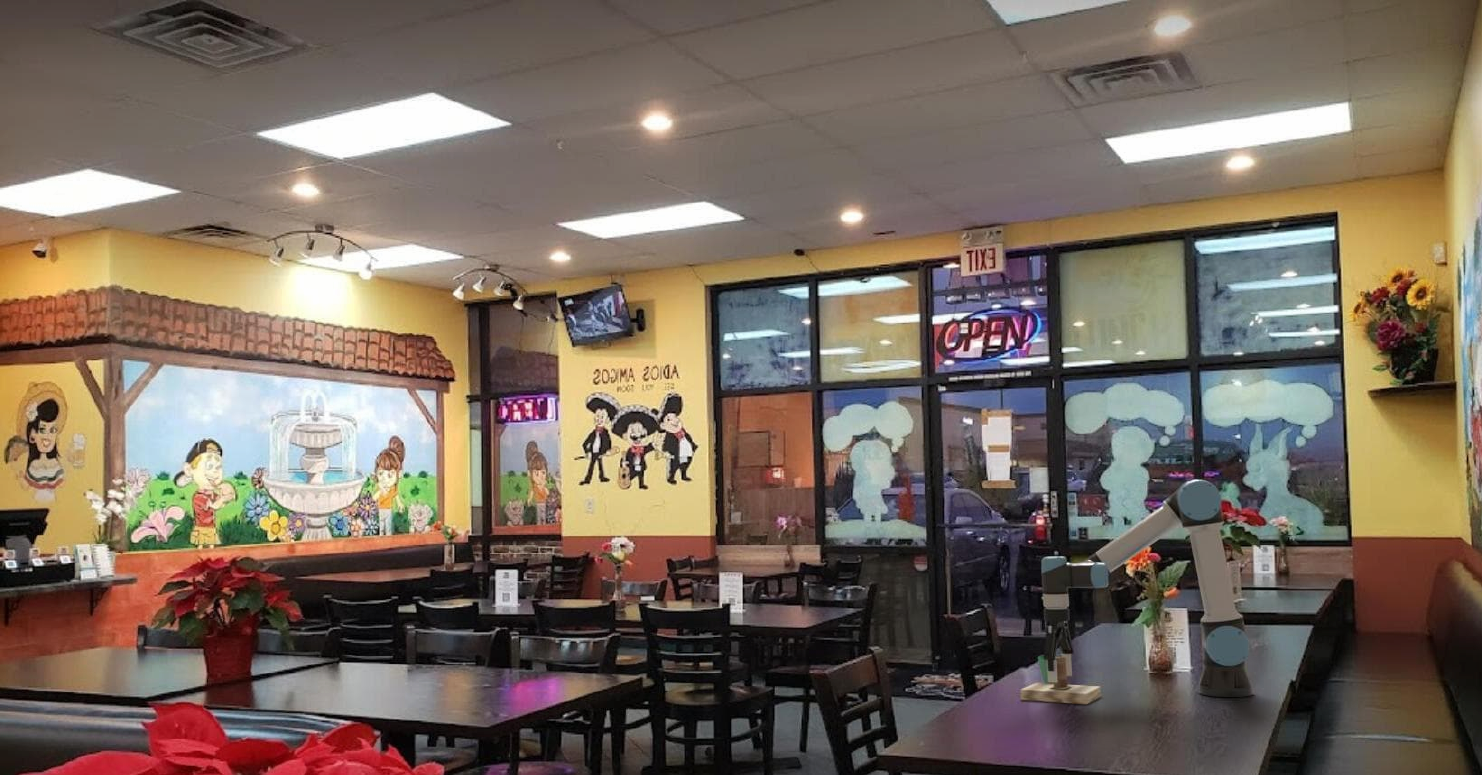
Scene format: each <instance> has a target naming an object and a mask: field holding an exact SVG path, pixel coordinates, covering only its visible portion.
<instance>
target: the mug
mask: <svg viewBox="0 0 1482 775" xmlns="http://www.w3.org/2000/svg"><path fill="white" fill-rule="evenodd" d="M1043 657H1044V654H1042V655H1039V656H1038V657H1037V661H1038V665H1039V669H1040V673H1041V676H1042V678H1043V681H1044V683H1049V684H1054V683H1053V682H1048V674H1047V660H1044V659H1043ZM1056 657H1062V656H1061V654H1056Z"/></svg>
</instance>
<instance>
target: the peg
mask: <svg viewBox="0 0 1482 775" xmlns="http://www.w3.org/2000/svg"><path fill="white" fill-rule="evenodd" d="M1055 660H1056V662H1057V680H1058V682H1057V683H1055V682H1053V683H1054V687H1053V688H1054V689H1058V690H1068V689H1067V688H1068V687H1067V685H1068V676H1067V671H1066V658H1065V657H1055Z"/></svg>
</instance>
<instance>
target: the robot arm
mask: <svg viewBox="0 0 1482 775" xmlns="http://www.w3.org/2000/svg"><path fill="white" fill-rule="evenodd" d="M1224 523H1225V520H1224V515H1223V510H1222V496H1221V493H1220V491H1219V489H1218V488H1217V487H1216V485H1214V484H1213V483H1212V482H1210V481H1207V480H1206V479H1201V478H1199V479H1197V478H1196V479H1191V480H1187V481H1185V482H1184V483H1182V484H1181V485H1180V486H1179V487H1178V488H1177V489H1176V491H1175V492H1174V493H1172V494H1171V495H1170V496H1168V497H1167V498H1166V499H1165V500H1163V502H1162V506H1161V507H1159V508H1157V509H1156V510H1154V511H1153V512H1152V513H1150V514H1149V515H1147V516H1146V517H1145V518H1143V519H1141V520H1139V522H1138V523H1136V524H1135V525H1132V526H1131V527H1130V528H1128V529H1127V530H1126V531H1125V532H1123V533H1122V534H1120V535H1119V536H1117V537H1115V539H1112V540H1111V541H1110V542H1109V543H1107V544H1106V545H1104V546H1103V547H1102V548H1100V549H1099V550H1097V551H1096V552H1095V553H1093V554H1092V555H1090V556H1089V557H1087V558H1086V559H1083V560H1082V561H1081V562H1075V563H1074V562H1068V561H1067V557H1066V556H1054V555H1053V556H1044V557H1043V558H1042V559H1041V585H1042V596H1041V600H1042V602H1043V607H1044V609H1043V620H1044V621H1045V622H1048V623H1049V625H1046V626H1045V640H1044V641H1045V642H1044V651H1043V655H1044V657H1043V659H1044V660H1047V674H1048V682H1055V683H1057V682H1058V680H1057V662H1056V660H1055V657H1056V655H1057V651H1058V645H1059V647H1060V649H1061V652H1062V653H1061V654H1060V655H1061V656H1062V657H1065V658H1066V671H1067V677H1072V676H1073V671H1072V670H1073V669H1072V668H1073V667H1072V654H1073V655H1074V654H1075V653H1074V652H1075V650H1074V646H1073V643H1072V642H1073V641H1072V638H1071V634H1070V633H1071V632H1070V629H1069V621H1070V619H1071V618H1070V609H1069V608H1068V607H1069V606H1070V599H1069V589H1077V588H1078V589H1100V588H1102V589H1103V588H1107V587H1108V586H1109V575H1110V574H1111V573H1112V572H1113V571H1115V570H1116V569H1118V568H1120V567H1121V566H1122V565H1124V564H1125V563H1126V562H1128V561H1130V560H1131V559H1133V558H1134V557H1135V556H1137V555H1138V554H1139V553H1141V552H1143V551H1144V550H1146V549H1147V548H1149V547H1150V546H1151V545H1153V544H1154V543H1156V542H1157V541H1159V540H1160V539H1162V538H1163V537H1165V536H1166V535H1168V534H1169V533H1171V532H1172V531H1174V530H1175V529H1176V528H1178V527H1182V528H1183V529H1184V530H1185V531H1186V532H1188V534H1189V538H1190V544H1191V549H1192V555H1193V558H1194V565H1195V569H1196V575H1197V579H1198V585H1199V586H1198V587H1199V590H1200V596H1201V600H1202V606H1203V611H1204V614H1203V616H1202V617H1201V618H1200V625H1199V626H1200V631H1201V633H1200V634H1201V648H1202V662H1203V664H1202V665H1203V667H1202V672H1201V676H1200V678H1199V682H1198V693H1199V694H1201V695H1204V696H1209V697H1215V698H1216V697H1217V698H1241V697H1242V698H1243V697H1250V696H1252V695H1254V689H1253V688H1254V687H1253V685H1252V682H1251V680H1250V678H1249V674H1248V672H1247V669H1246V666H1245V665H1246V664H1245V660H1247V657H1248V655H1249V653H1250V650H1251V642H1250V639H1249V638H1248V635H1247V631H1246V627H1245V621H1244V616H1243V614H1241V613H1239V612H1238V610H1237V609H1236V604H1235V599H1234V594H1233V589H1232V583H1231V580H1230V578H1231V577H1230V574H1229V570H1228V564H1227V558H1226V554H1225V553H1226V552H1225V550H1224V544H1223V538H1222V534H1221V528H1222V526H1223V525H1224Z"/></svg>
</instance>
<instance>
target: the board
mask: <svg viewBox="0 0 1482 775" xmlns="http://www.w3.org/2000/svg"><path fill="white" fill-rule="evenodd" d="M1053 687H1054V684H1049V683H1045V682H1034V683H1033V684H1030V685H1028V686H1026V687H1023V688H1021V689H1020V699H1021V701H1037V702H1047V703H1048V702H1049V703H1065V704H1078V705H1088V704H1090V703H1092V702H1093V701H1096V700H1098V699H1100V698H1101V697H1102V692H1101V691H1102V689H1101V686H1097V685H1096V686H1095V685H1084V684H1083V685H1081V684H1080V685H1079V684H1067V687H1068V688H1067V689H1068V690H1058V689H1054V688H1053Z"/></svg>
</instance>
